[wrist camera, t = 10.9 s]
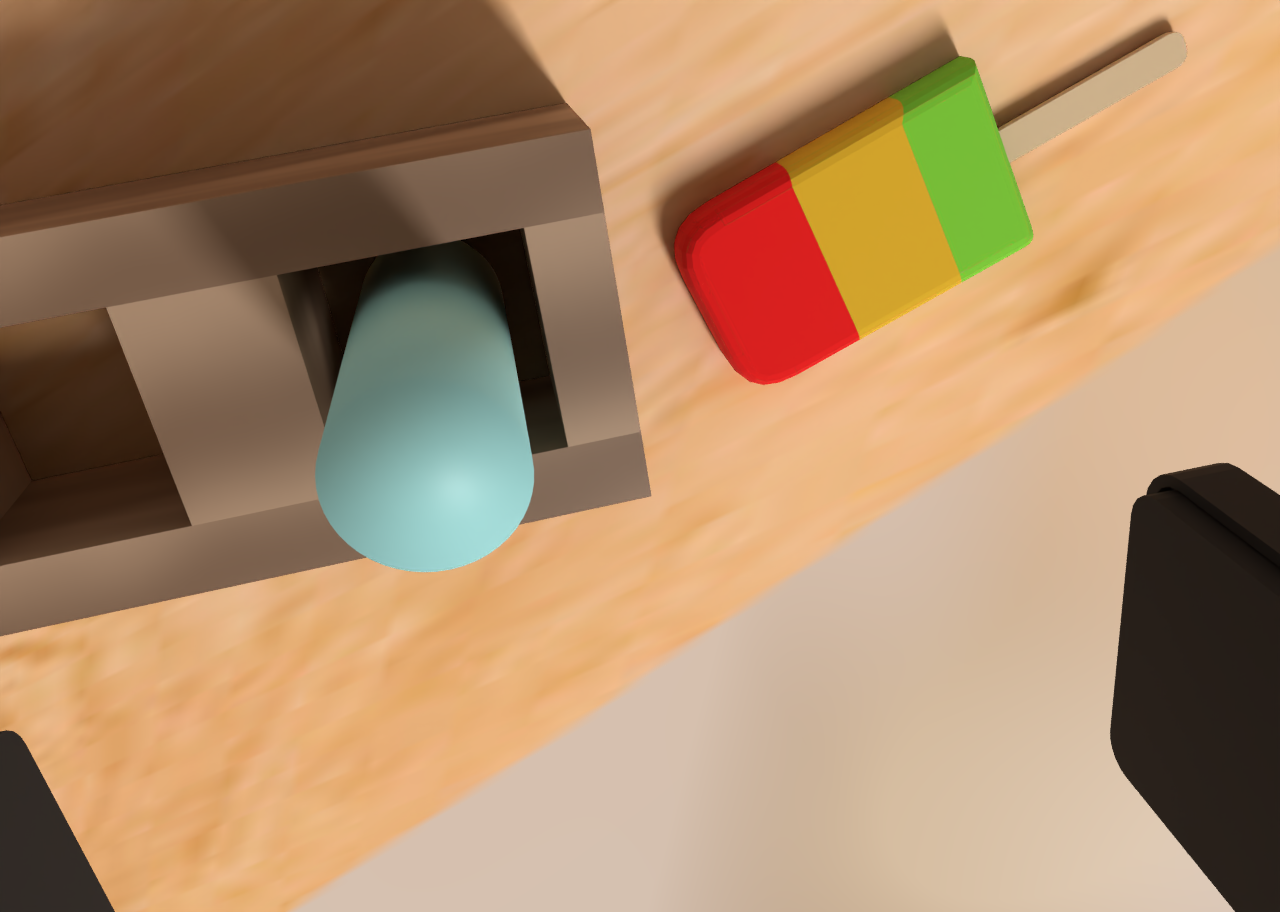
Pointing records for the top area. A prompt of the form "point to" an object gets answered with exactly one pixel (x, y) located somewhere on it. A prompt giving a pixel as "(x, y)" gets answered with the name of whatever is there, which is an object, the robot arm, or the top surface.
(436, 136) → the socket block
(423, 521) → the dowel
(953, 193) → the popsicle
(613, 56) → the top surface
